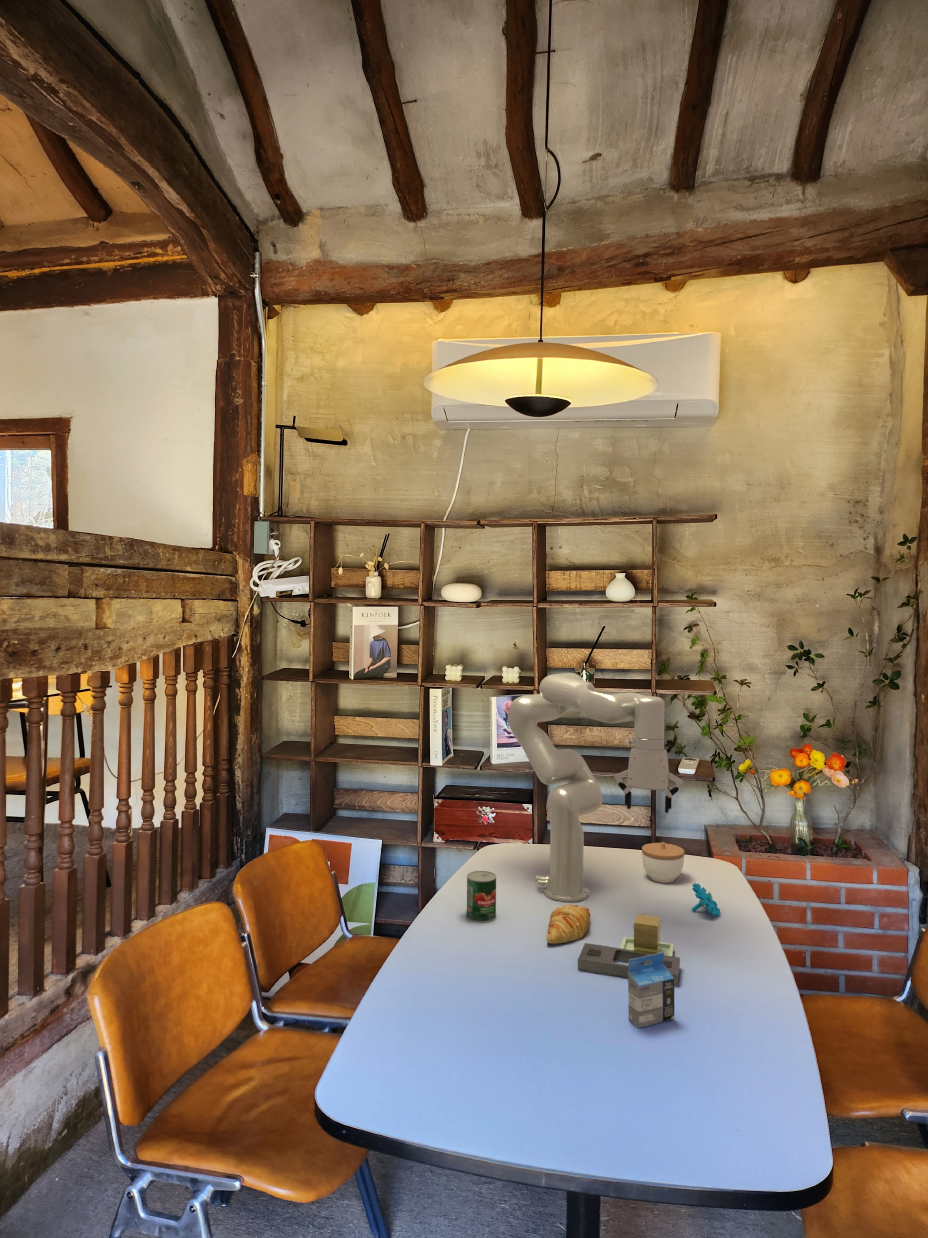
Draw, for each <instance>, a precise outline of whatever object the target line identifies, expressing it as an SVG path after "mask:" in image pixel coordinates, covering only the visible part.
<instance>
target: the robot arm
mask: <svg viewBox="0 0 928 1238" xmlns="http://www.w3.org/2000/svg"><path fill="white" fill-rule="evenodd" d="M665 707H666V706H665V701H664V699H663V698H661V697H659V696H651V695H643V694H641V693H636V692H624V693H623V692H621V693H615V694H605V693H602V692H598V691H596V688H595V686H594V685H593V683H592V682H589V681H587V680H584V679H583V678H582V677H581V675H579V674H577V673H574V672H564V673H554V674H549V675H547V676H545V677H544V678H543V679H542V680H541V682H540V684H539V693H537V694H536V693H535V694H525V695H521V696H519V697H516V698H515V699H514V700H512V701H511V703H510V704H509V707H508V711H507V721H508V726H509V729H510V731H511V732H512V735H513V736H514V737H515V739H516V741H517V742H518V743H519V745H520V746H521V748H522V750H523V752H524V753H525V755H526V757H527V759H528V761H529V763H530V765H531V767H532V769H533V770H534V773H535V774H536V776H537V778H538V780H539V781H540V782H541V783H543V784H544V785H548V786H550V785H551V786H552V785H558V784H560V785H558V786H556V787H553V789H552V790H551V791H550V792H549V793H548V796H547V799H546V800H547V802H546V804H547V811H548V815H549V823H550V824H549V827H550V828H549V830H550V832H549V833H550V837H549V839H550V840H549V841H550V843H549V846H550V847H549V849H550V851H549V852H550V853H549V854H550V855H549V875H546V876H545V875H544V876H543V875H539V874H536V876H535V882H536V883H537V885H538V886H539V885H540V886H544V888H543V890H544V895H546V896H547V897H548V898H549V899H553V900H555V901H559V902H568V903H569V902H570V903H572V902H573V903H574V902H579V901H583V900H585V899H587V898H588V897H589V889H588V888H587V887H585V886H584V855H585V854H584V849H585V847H584V843H585V840H584V839H585V838H584V836H585V835H584V828H583V826H582V824H581V821H580V817H581V816H583V815H588V814H592V813H594V812H596V811H598V810H599V809H600V808H601V807H602V804H603V800H604V799H603V793H602V790H601V787H600V785H599V783H598V781H597V780H596V778H595V776H594V775H593V773H592V770H591V769H590V768H589V765H588V764H587V762H586V761H585V759H584V758H583V756H582V755H581V754H580V753H579V752H577V751H576V750H574V749H571V748H568V749H567V748H565V749H557V748H556V747H555V745H554V744H553V742H552V741H551V738H550V736H549V735H548V734H547V733H546V732H545V731H544V730H543V729H542V728H541V727H539V726H538V725H537V724H536V723H544V722H551V721H555V720H557V719H560V717H562V716H563V715H564V714H566V713H568V711H570V710H571V709H572V710H575V711H579V712H580V713H581V715H582V716H584V717H586V718H588V719H591V720H594V721H597V722H602V723H606V724H618V723H624V722H632V721H633V722H634V732H633V733H634V734H633V735H634V736H633V738H628V745H629V744H631V745H632V746H633V747H631V749H630V752H629V758H628V767H627V769H626V770H623V771H620V772H619V773H616V774H615V775H614V779H615V781H616V783H617V785H618V787H619V788H620V790H622V791H623V793H624V805H625V806H626V809H627V810H630V809H631V808H632V794H633V793H632V792H631V790H632V789H639V790H649V791H650V790H651V791H663V792H664V793H665V797H664V805H665V806H664V812H665V813H666V814H668V813H669V811H670V810H671V809H672V797H673V796H675V794H677V793H678V792H679V790H680V788H681V787H682V785H683V783H684V780H683V779H681V778H679V777H678V776H676V775H675V774H673V773H671V772H670V771H669V759H668V758H669V757H668V752H667V749H665V709H666V708H665ZM626 776H627V785H626V783H625V782H624V781H623V779H622V778H625V777H626ZM670 780H671V781H673V782H674V783H675V785H674V786H673V788H670V786H669V782H670ZM563 783H565V784H563Z"/></svg>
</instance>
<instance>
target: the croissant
mask: <svg viewBox="0 0 928 1238" xmlns="http://www.w3.org/2000/svg"><path fill="white" fill-rule="evenodd" d="M590 919H591V913H590V909H589V908H588V907H585V906H582V907H581V906H579V905H574V904H566V905H561V906H559V907H556V908H555V909H554V910H552V912H551V913H550V915H549V922H548V925H547V926H548V928H547V934H546V942H547V943H548V944H553V945H555V944H565V943H568V942H569V943H570V942H572V941H577V940H578V939H580V940H581V939H582V938H583V937H584V935H585V934H586V933H587V931H588V928H589V925H590Z"/></svg>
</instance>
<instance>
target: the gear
mask: <svg viewBox="0 0 928 1238" xmlns="http://www.w3.org/2000/svg"><path fill="white" fill-rule="evenodd" d="M691 885H692V888H691V890H692V891H693V892H694V896H695V897H696V898H697V899H699V901H698V903H696V904H695V905H694V906H693V907H691V911H692V912H693V911H695V912H696V911H697V910H699V908H701V907H704V906H706V909H705V910H706V911H707V912H708V913H711V915H712V916H714V917H719V916H721V913H720V912H721V909H720V908H719V907H718V902H717V901H715V900H714V898H713V896H712V893H711V892H710V891H707V889H706V888H705V887H704V886H703V887H702V886H701V885H700V883H698V882H697V883H693V884H691Z"/></svg>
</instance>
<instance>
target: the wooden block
mask: <svg viewBox="0 0 928 1238" xmlns="http://www.w3.org/2000/svg"><path fill="white" fill-rule="evenodd" d="M660 936H661V917H659V916H652V915H645V914H639V913H637V914H636V915H635V919H634V921H633V938H634V951H641V952H647V953H654V954H658V952H659V948H660V942H661V941H660V940H661V939H660V938H661V937H660Z"/></svg>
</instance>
